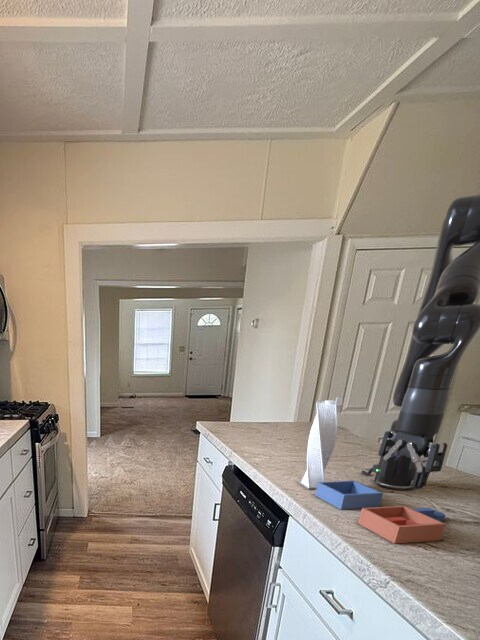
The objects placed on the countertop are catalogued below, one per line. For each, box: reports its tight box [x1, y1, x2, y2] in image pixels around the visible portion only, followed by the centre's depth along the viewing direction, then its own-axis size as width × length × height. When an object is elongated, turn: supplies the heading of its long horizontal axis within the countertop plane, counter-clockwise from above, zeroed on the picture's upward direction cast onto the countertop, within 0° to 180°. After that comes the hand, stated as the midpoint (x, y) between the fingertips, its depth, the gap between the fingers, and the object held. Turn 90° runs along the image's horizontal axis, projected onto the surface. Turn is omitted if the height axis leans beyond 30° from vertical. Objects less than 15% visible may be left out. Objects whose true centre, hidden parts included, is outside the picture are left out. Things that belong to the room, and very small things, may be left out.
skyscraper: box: [298, 395, 343, 490], centre depth 122 cm, size 8×8×28 cm
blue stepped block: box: [412, 507, 446, 522], centre depth 101 cm, size 9×4×3 cm, turn 97°
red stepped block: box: [385, 517, 417, 526], centre depth 95 cm, size 9×4×3 cm, turn 97°
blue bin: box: [314, 480, 384, 510], centre depth 114 cm, size 11×11×4 cm
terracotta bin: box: [357, 505, 447, 544], centre depth 95 cm, size 11×11×4 cm
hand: (401, 481), depth 92 cm, fingers open, 8 cm apart
